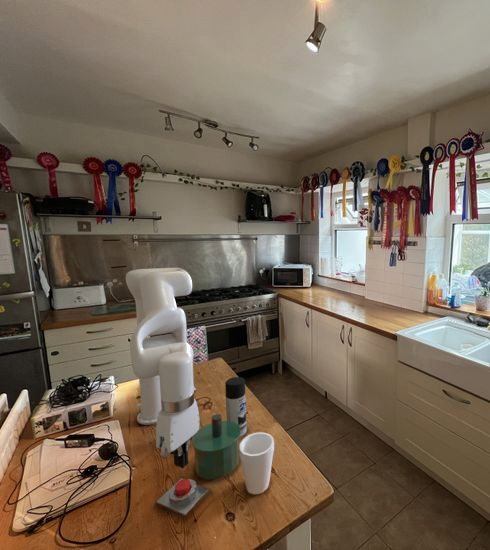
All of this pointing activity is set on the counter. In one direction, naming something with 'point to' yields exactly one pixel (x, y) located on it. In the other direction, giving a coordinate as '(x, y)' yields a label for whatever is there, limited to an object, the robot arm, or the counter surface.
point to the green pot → (217, 462)
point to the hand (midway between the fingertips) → (181, 464)
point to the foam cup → (257, 461)
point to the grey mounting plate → (183, 498)
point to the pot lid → (216, 435)
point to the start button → (182, 487)
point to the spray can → (236, 402)
